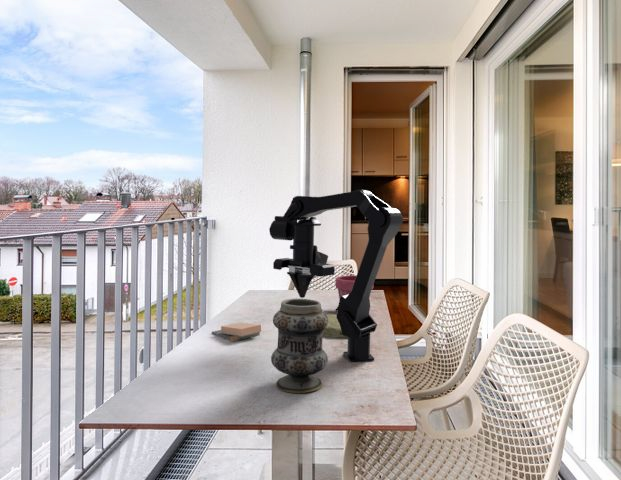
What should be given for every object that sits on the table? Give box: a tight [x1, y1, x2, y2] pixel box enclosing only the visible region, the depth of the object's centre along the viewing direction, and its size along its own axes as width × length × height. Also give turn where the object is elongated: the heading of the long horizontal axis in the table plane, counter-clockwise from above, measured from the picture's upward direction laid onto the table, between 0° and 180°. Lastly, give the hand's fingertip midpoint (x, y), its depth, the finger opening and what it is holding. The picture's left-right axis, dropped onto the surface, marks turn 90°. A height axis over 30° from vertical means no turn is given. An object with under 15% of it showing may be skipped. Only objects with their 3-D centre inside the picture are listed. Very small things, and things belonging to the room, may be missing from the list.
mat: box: [211, 329, 234, 341], centre depth 133 cm, size 10×9×1 cm
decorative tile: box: [322, 313, 348, 339], centre depth 140 cm, size 19×20×4 cm
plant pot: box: [334, 274, 375, 300], centre depth 164 cm, size 14×14×13 cm
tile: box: [220, 321, 262, 337], centre depth 130 cm, size 2×7×10 cm
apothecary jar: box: [270, 297, 329, 394], centre depth 94 cm, size 12×12×18 cm
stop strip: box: [229, 332, 261, 343], centre depth 129 cm, size 1×10×1 cm, turn 135°
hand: (302, 297), depth 123 cm, fingers closed
